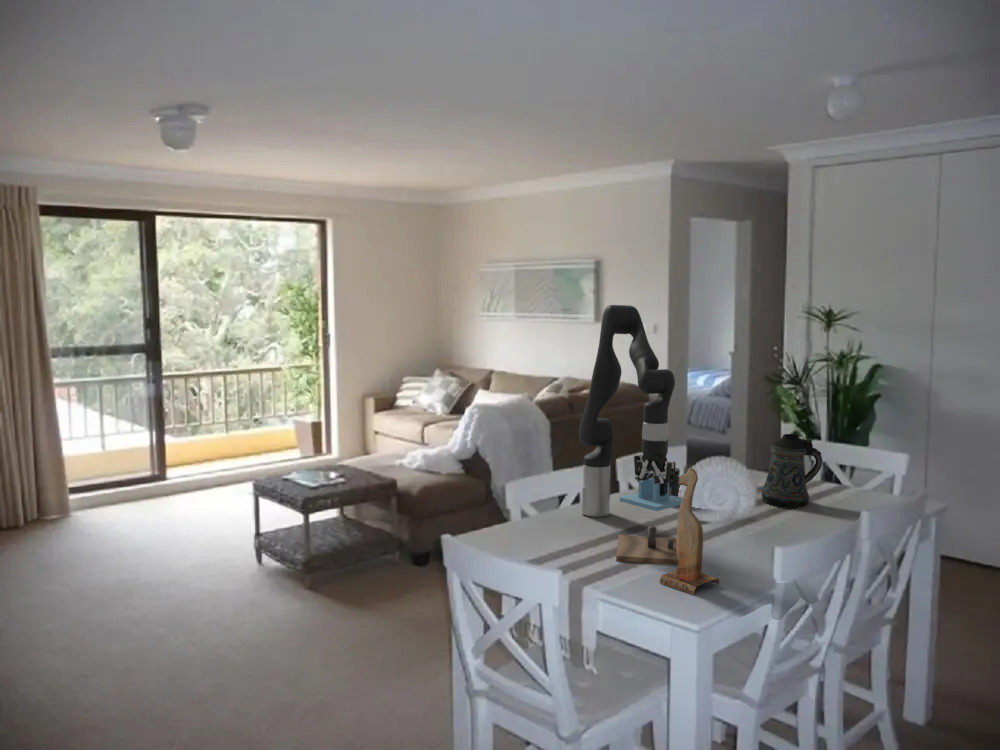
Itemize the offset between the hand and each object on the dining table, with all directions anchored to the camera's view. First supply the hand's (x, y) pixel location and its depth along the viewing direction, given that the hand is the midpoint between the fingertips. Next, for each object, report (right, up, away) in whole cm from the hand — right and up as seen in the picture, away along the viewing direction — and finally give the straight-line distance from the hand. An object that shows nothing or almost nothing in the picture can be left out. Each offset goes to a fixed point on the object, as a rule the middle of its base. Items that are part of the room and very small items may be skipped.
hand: (653, 493), depth 244 cm
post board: (0, -18, +2) cm, 18 cm away
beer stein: (+60, -12, +59) cm, 85 cm away
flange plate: (0, -3, 0) cm, 3 cm away
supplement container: (+16, -12, +60) cm, 63 cm away
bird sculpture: (+5, -21, -24) cm, 33 cm away
